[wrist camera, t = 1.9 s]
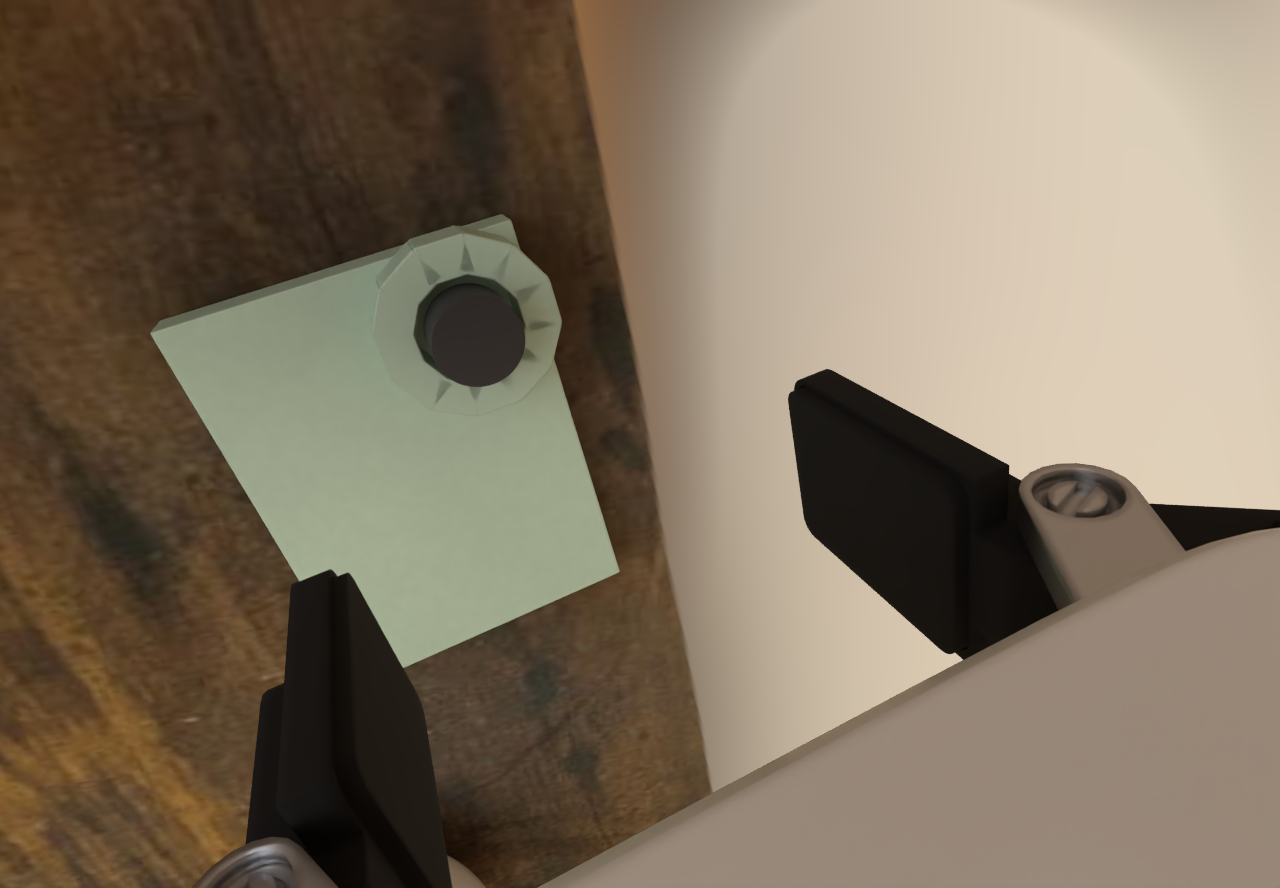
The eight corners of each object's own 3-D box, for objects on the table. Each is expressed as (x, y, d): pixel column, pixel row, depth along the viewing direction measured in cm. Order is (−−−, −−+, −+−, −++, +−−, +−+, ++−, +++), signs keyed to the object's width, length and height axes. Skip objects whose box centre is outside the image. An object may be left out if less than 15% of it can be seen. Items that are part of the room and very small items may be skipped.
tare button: (409, 299, 22) (415, 314, 20) (497, 270, 23) (509, 282, 21) (442, 381, 23) (450, 400, 22) (524, 352, 24) (537, 368, 22)
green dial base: (152, 310, 22) (129, 337, 19) (508, 199, 24) (530, 211, 22) (361, 663, 29) (364, 716, 27) (616, 551, 32) (641, 590, 29)
